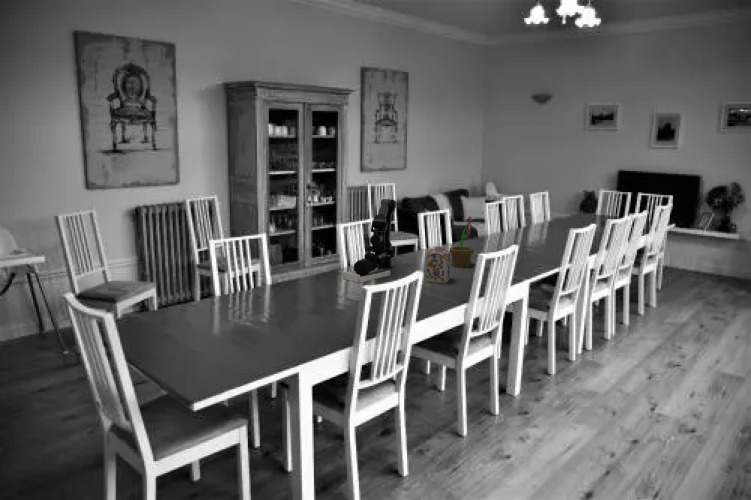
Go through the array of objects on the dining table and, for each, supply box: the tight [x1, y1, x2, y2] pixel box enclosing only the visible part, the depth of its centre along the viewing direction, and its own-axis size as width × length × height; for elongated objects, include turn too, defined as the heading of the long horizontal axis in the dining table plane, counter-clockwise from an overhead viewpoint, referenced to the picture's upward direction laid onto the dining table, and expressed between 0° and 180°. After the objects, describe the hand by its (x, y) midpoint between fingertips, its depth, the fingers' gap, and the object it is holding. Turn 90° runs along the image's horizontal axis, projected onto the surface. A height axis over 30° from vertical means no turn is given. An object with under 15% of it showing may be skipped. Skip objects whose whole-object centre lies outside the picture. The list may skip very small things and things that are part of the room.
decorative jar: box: [424, 245, 452, 284], centre depth 307 cm, size 12×12×18 cm
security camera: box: [353, 257, 379, 277], centre depth 310 cm, size 7×18×10 cm, turn 154°
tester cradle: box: [342, 268, 391, 284], centre depth 312 cm, size 24×12×5 cm, turn 136°
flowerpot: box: [449, 215, 475, 269], centre depth 340 cm, size 14×14×30 cm
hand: (380, 268), depth 320 cm, fingers closed
